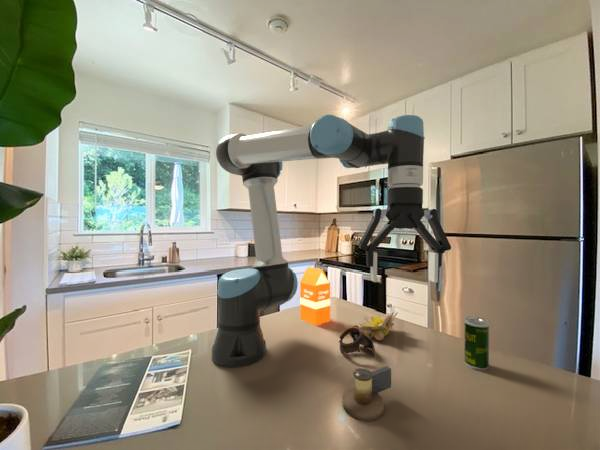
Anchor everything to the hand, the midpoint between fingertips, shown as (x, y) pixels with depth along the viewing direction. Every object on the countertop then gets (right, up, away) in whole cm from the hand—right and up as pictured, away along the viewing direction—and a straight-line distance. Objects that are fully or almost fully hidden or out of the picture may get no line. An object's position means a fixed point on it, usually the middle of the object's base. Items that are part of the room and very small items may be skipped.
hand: (403, 281), depth 62 cm
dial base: (-11, -24, -7) cm, 27 cm away
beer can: (+22, -24, +9) cm, 34 cm away
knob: (-8, -22, -5) cm, 25 cm away
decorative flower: (+3, -24, +30) cm, 38 cm away
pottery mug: (-7, -24, +17) cm, 30 cm away
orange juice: (-18, -24, +42) cm, 52 cm away
